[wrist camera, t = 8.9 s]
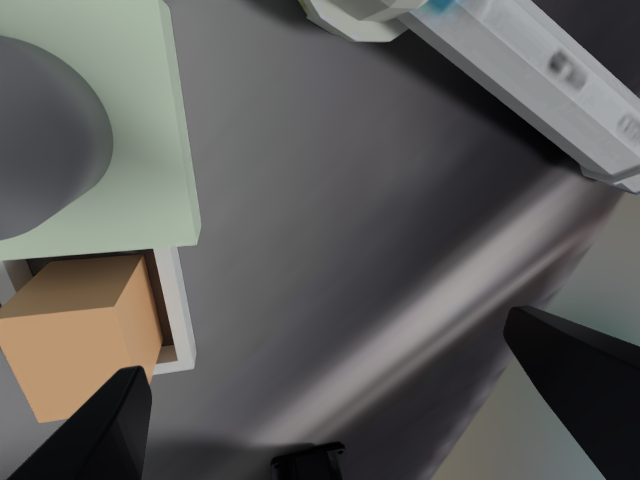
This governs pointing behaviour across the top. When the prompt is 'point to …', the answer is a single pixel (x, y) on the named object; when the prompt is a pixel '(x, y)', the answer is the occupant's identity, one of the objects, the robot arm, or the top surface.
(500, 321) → the top surface
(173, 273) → the pale green framed piece
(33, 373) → the tan parcel box
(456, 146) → the top surface
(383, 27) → the flat bar with knob
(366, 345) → the top surface
